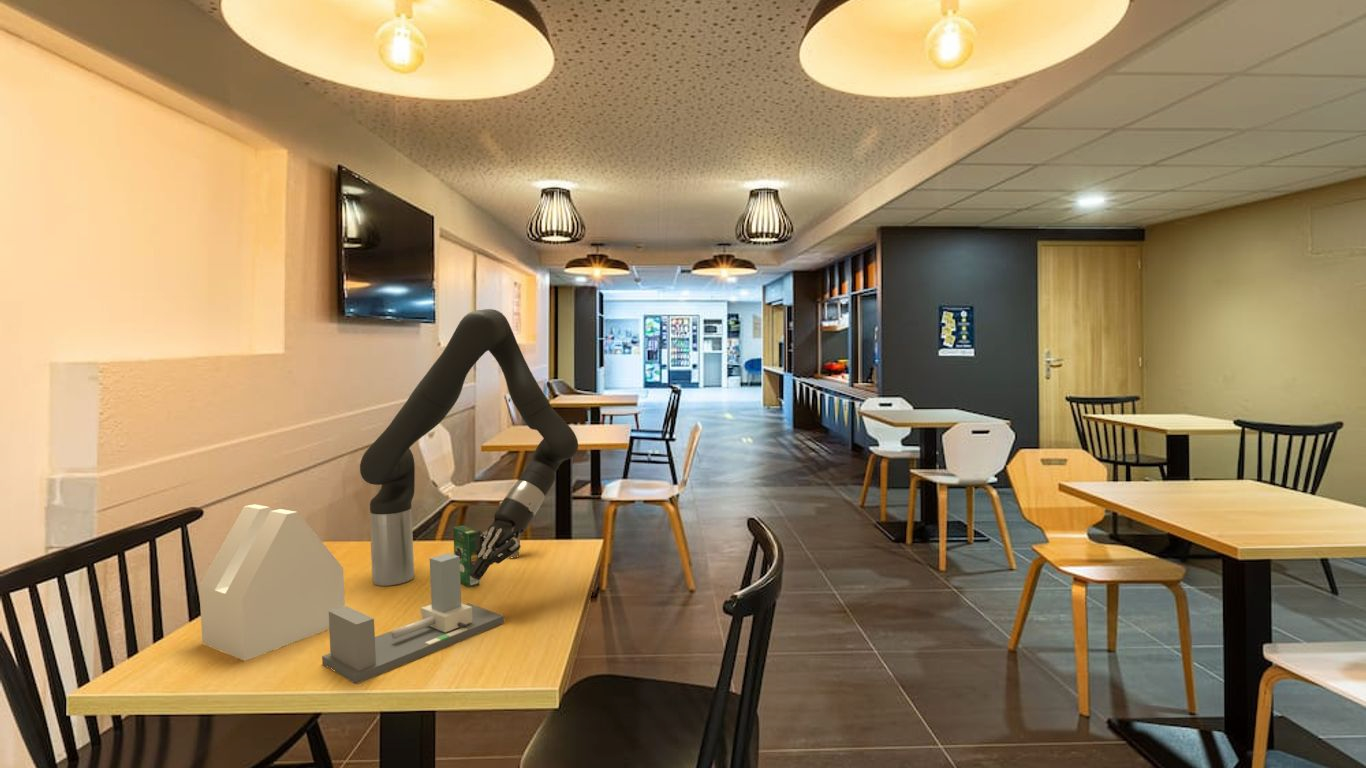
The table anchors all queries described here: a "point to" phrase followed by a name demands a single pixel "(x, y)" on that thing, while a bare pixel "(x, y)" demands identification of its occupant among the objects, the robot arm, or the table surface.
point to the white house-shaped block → (268, 584)
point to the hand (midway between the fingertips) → (473, 577)
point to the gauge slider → (442, 599)
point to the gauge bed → (390, 642)
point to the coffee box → (465, 553)
